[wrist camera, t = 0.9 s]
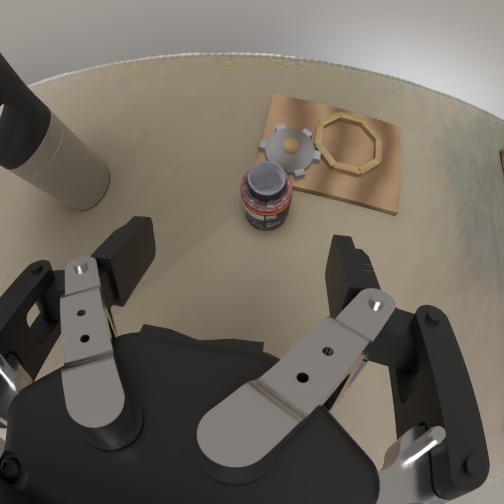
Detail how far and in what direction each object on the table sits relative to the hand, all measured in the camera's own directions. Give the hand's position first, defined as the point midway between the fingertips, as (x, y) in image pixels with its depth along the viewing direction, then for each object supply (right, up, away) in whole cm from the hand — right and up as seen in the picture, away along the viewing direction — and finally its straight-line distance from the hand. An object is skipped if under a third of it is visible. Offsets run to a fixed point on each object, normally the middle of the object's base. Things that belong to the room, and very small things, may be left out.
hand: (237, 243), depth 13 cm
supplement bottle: (+3, +5, +28) cm, 29 cm away
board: (+13, +15, +29) cm, 35 cm away
